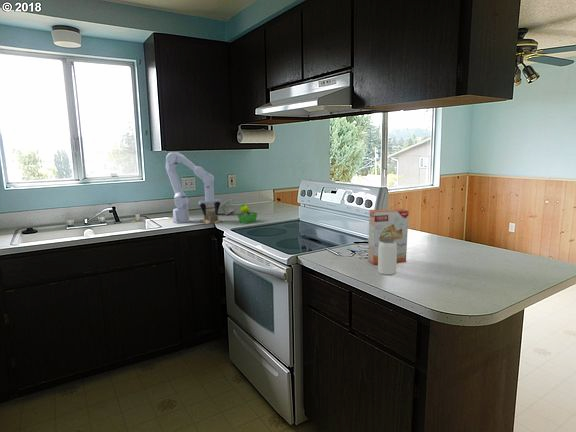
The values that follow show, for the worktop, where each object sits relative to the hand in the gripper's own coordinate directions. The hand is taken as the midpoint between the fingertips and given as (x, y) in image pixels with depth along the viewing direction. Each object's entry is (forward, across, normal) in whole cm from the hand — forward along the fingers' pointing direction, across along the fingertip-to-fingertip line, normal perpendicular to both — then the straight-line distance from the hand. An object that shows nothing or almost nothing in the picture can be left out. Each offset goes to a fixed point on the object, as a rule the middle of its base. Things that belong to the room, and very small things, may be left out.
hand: (210, 214), depth 241 cm
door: (+3, 0, 0) cm, 3 cm away
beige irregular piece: (+4, 0, 0) cm, 4 cm away
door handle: (+5, +18, +24) cm, 30 cm away
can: (+4, +14, -134) cm, 135 cm away
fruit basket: (+5, +18, -15) cm, 24 cm away
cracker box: (+4, +24, -125) cm, 127 cm away
